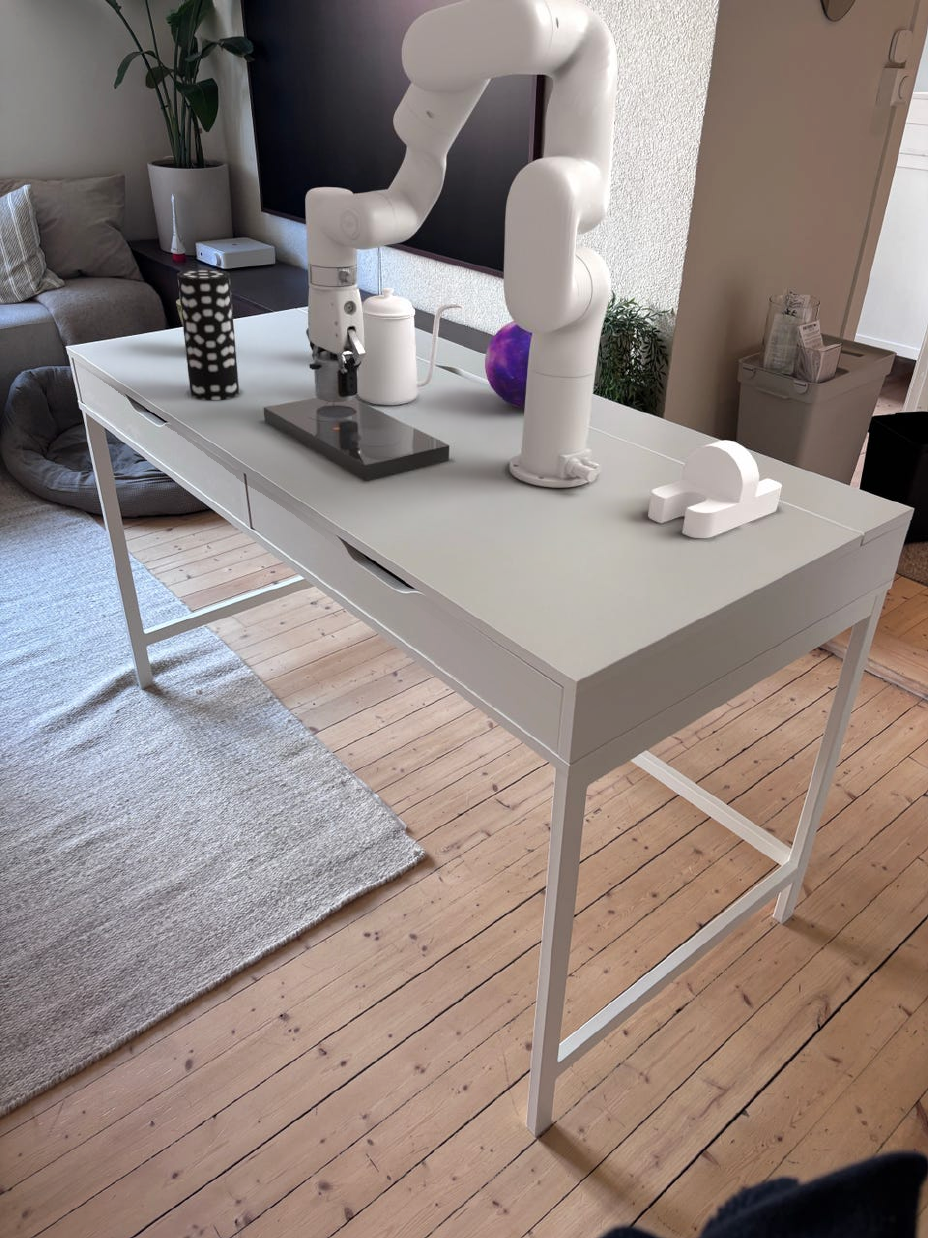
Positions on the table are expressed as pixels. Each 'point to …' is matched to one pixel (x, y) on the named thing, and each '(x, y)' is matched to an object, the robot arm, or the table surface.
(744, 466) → the slotted bracket
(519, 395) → the decorative orb
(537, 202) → the robot arm
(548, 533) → the table surface
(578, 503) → the table surface
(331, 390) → the pot
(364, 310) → the coffeepot
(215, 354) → the white-spotted black cylinder
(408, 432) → the hot plate
